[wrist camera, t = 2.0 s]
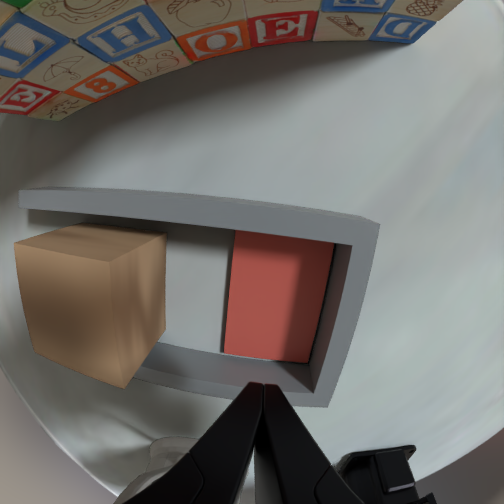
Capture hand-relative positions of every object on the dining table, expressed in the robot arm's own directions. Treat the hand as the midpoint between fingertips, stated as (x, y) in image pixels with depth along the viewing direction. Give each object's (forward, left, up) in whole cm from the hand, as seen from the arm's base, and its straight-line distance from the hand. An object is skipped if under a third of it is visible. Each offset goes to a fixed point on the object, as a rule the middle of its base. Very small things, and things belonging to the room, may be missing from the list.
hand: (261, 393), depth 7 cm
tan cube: (0, +8, -7) cm, 11 cm away
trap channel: (0, +6, -7) cm, 9 cm away
